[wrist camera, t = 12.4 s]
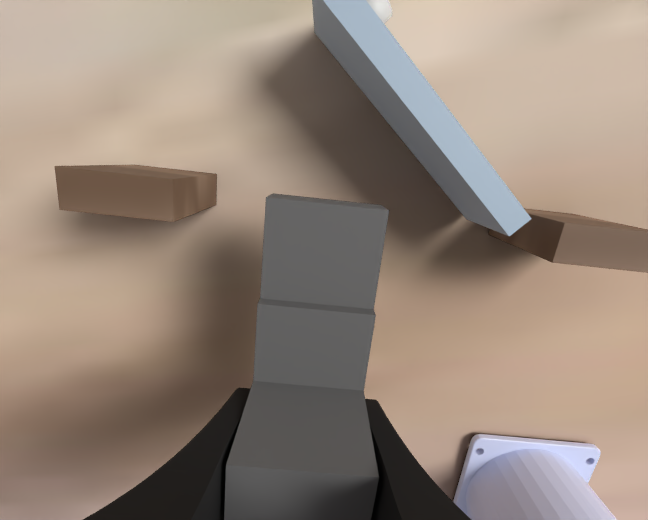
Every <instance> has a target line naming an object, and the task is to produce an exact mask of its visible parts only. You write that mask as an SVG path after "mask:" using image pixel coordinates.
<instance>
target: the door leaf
mask: <svg viewBox="0 0 648 520" xmlns="http://www.w3.org/2000/svg"><path fill="white" fill-rule="evenodd" d="M312 4H313V18H314V33H315V34H316V35H317V36H318V38H319V39H320V40H321V41H322V42H323V44H324V45H325V46H326V47H327V49H328V50H329V51H330V52H331V53H332V55H333V56H334V57H335V58H336V60H337V61H338V62H339V63H340V65H341V66H342V67H343V68H344V69H345V71H346V72H347V73H348V74H349V76H350V77H351V78H352V79H353V81H354V82H355V83H356V84H357V85H358V87H359V88H360V89H361V90H362V92H363V93H364V94H365V95H366V97H367V98H368V99H369V100H370V101H371V103H372V104H373V105H374V106H375V108H376V109H377V110H378V111H379V112H380V114H381V115H382V116H383V117H384V119H385V120H386V121H387V122H388V124H389V125H390V126H391V127H392V128H393V130H394V131H395V132H396V133H397V135H398V136H399V137H400V138H401V140H402V141H403V142H404V143H405V144H406V146H407V147H408V148H409V149H410V151H411V152H412V153H413V154H414V155H415V157H416V158H417V159H418V160H419V162H420V163H421V164H422V165H423V167H424V168H425V169H426V170H427V171H428V173H429V174H430V175H431V176H432V178H433V179H434V180H435V181H436V183H437V184H438V185H439V186H440V187H441V189H442V190H443V191H444V192H445V194H446V195H447V196H448V197H449V199H450V200H451V201H452V202H453V203H454V205H455V206H456V207H457V208H458V210H459V211H460V212H461V213H462V214H463V216H464V217H465V218H466V219H467V220H470V221H472V222H474V223H477V224H479V225H482V226H484V227H487V228H489V229H492V230H494V231H497V232H499V233H502V234H504V235H507V236H511V235H512V234H513V233H514V232H516V231H517V230H518V229H519V228H521V227H522V226H523V225H524V224H526V223H527V222H528V221H529V220H531V217H530V216H529V215H528V213H527V212H526V211H525V209H524V208H523V207H522V205H521V204H520V203H519V202H518V200H517V199H516V198H515V196H514V195H513V194H512V192H511V191H510V190H509V188H508V187H507V186H506V184H505V183H504V182H503V180H502V179H501V178H500V176H499V175H498V174H497V172H496V171H495V170H494V169H493V167H492V166H491V165H490V163H489V162H488V161H487V159H486V158H485V157H484V155H483V154H482V153H481V151H480V150H479V149H478V147H477V146H476V145H475V143H474V142H473V141H472V139H471V138H470V137H469V135H468V134H467V133H466V132H465V130H464V129H463V128H462V126H461V125H460V124H459V122H458V121H457V120H456V118H455V117H454V116H453V114H452V113H451V112H450V110H449V109H448V108H447V106H446V105H445V104H444V102H443V101H442V100H441V99H440V97H439V96H438V95H437V93H436V92H435V91H434V89H433V88H432V87H431V85H430V84H429V83H428V81H427V80H426V79H425V77H424V76H423V75H422V73H421V72H420V71H419V69H418V68H417V67H416V66H415V64H414V63H413V62H412V60H411V59H410V58H409V56H408V55H407V54H406V52H405V51H404V50H403V48H402V47H401V46H400V44H399V43H398V42H397V40H396V39H395V38H394V36H393V35H392V34H391V33H390V31H389V30H388V29H387V27H386V26H385V25H384V24H385V23H386V22H387V21H388V20H389V19H390V18H391V16H392V8H391V5H390V3H389V1H388V0H312Z"/></svg>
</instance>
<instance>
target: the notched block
mask: <svg viewBox="0 0 648 520" xmlns="http://www.w3.org/2000/svg"><path fill="white" fill-rule="evenodd" d="M388 215H389V210H388V209H386V208H385V207H383V206H382V205H376V204H366V203H357V202H347V201H338V200H329V199H319V198H310V197H300V196H291V195H282V194H271V195H269V196H268V197H266V206H265V224H264V241H263V259H262V276H261V294H260V300H259V302H258V305H257V323H256V341H255V359H254V377H253V383H252V386H251V389H250V393H249V396H248V399H247V402H246V405H245V408H244V411H243V414H242V417H241V420H240V423H239V426H238V430H237V433H236V436H235V439H234V442H233V445H232V448H231V451H230V454H229V457H228V460H227V463H226V481H225V512H224V520H371V517H372V512H373V506H374V501H375V496H376V491H377V486H378V480H379V474H378V469H377V463H376V457H375V452H374V446H373V441H372V435H371V429H370V424H369V418H368V413H367V407H366V402H365V396H364V385H365V379H366V372H367V366H368V360H369V354H370V348H371V341H372V335H373V329H374V323H375V316H376V315H375V312H374V303H375V297H376V290H377V284H378V278H379V272H380V265H381V259H382V253H383V246H384V240H385V234H386V227H387V221H388Z"/></svg>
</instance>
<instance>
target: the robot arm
mask: <svg viewBox="0 0 648 520" xmlns="http://www.w3.org/2000/svg"><path fill="white" fill-rule="evenodd" d="M249 393H250V389H247V388H238V389H236V390H235V392H234V393H233V394H232V396H231V397H230V398H229V400H228V401H227V402H226V403H225V404H224V406H223V407H222V408H221V409H220V410H219V412H218V413H217V414H216V415H215V416H214V417H213V418H212V419H211V420H210V422H209V423H208V424H207V425H206V426H205V427H204V428H203V429H202V430H201V431H200V432H199V433H198V434H197V435H196V436H195V437H194V438H193V439H192V440H191V441H190V442H189V443H188V444H187V445H186V446H185V447H184V448H183V449H182V450H181V451H179V452H178V453H177V454H176V455H175V456H174V457H173V458H171V459H170V460H169V461H168V462H167V463H166V464H164V465H163V466H162V467H161V468H159V469H158V470H157V471H155V472H154V473H153V474H152V475H150V476H149V477H148V478H146V479H145V480H144V481H142V482H141V483H140V484H138V485H137V486H136V487H134V488H133V489H131V490H130V491H128V492H127V493H125V494H124V495H122V496H121V497H119V498H118V499H116V500H115V501H113V502H112V503H110V504H109V505H107V506H105V507H104V508H102V509H101V510H99V511H97V512H96V513H94V514H92V515H90V516H88V517H87V518H85V519H83V520H224V512H225V481H226V463H227V460H228V457H229V454H230V451H231V448H232V445H233V442H234V439H235V436H236V433H237V430H238V426H239V423H240V420H241V417H242V414H243V411H244V408H245V405H246V402H247V399H248V396H249ZM365 402H366V407H367V413H368V418H369V424H370V429H371V435H372V441H373V446H374V452H375V457H376V463H377V469H378V474H379V480H378V486H377V491H376V496H375V501H374V506H373V512H372V517H371V520H617V519H616V518H615V516H614V515H613V514H612V513H611V512H610V510H609V509H608V508H607V507H606V505H605V504H604V503H603V502H602V501H601V499H600V498H599V497H598V496H597V494H596V493H595V492H594V491H593V490H592V488H591V487H590V486H589V485H588V482H589V480H590V478H591V475H592V473H593V471H594V468H595V466H596V464H597V461H598V459H599V457H600V453H601V452H600V450H599V449H598V448H597V447H596V446H595V445H594V444H587V443H576V442H565V441H553V440H542V439H531V438H520V437H509V436H497V435H486V434H477V435H475V436H473V437H472V439H471V442H470V445H469V449H468V452H467V456H466V459H465V463H464V466H463V470H462V473H461V476H460V480H459V483H458V487H457V490H456V494H455V497H454V501H452V500H451V499H450V498H449V497H448V496H447V495H446V494H445V493H444V492H443V491H442V490H441V489H440V488H439V487H438V486H437V484H436V483H435V482H434V481H433V480H432V479H431V478H430V476H429V475H428V474H427V473H426V472H425V470H424V469H423V468H422V467H421V465H420V464H419V463H418V462H417V460H416V459H415V458H414V456H413V455H412V454H411V452H410V451H409V450H408V448H407V447H406V445H405V444H404V442H403V441H402V439H401V438H400V437H399V435H398V434H397V432H396V431H395V429H394V427H393V426H392V424H391V423H390V421H389V419H388V418H387V416H386V415H385V413H384V411H383V409H382V408H381V406H380V404H379V403H378V401H377V400H372V399H365ZM478 448H480V449H478ZM477 449H478V450H477Z"/></svg>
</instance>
